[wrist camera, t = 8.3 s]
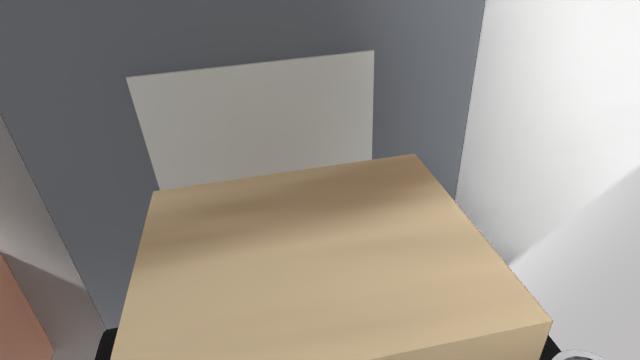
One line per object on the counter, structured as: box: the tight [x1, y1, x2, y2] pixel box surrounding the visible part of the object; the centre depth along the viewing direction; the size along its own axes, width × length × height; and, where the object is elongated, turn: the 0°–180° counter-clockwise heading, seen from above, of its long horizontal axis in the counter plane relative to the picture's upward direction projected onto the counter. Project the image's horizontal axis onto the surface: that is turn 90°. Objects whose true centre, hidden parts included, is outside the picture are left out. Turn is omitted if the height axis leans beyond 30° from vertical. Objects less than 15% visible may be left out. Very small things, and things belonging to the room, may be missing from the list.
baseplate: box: [0, 0, 485, 330], centre depth 16 cm, size 15×15×1 cm
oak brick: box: [110, 153, 553, 360], centre depth 9 cm, size 6×6×5 cm
